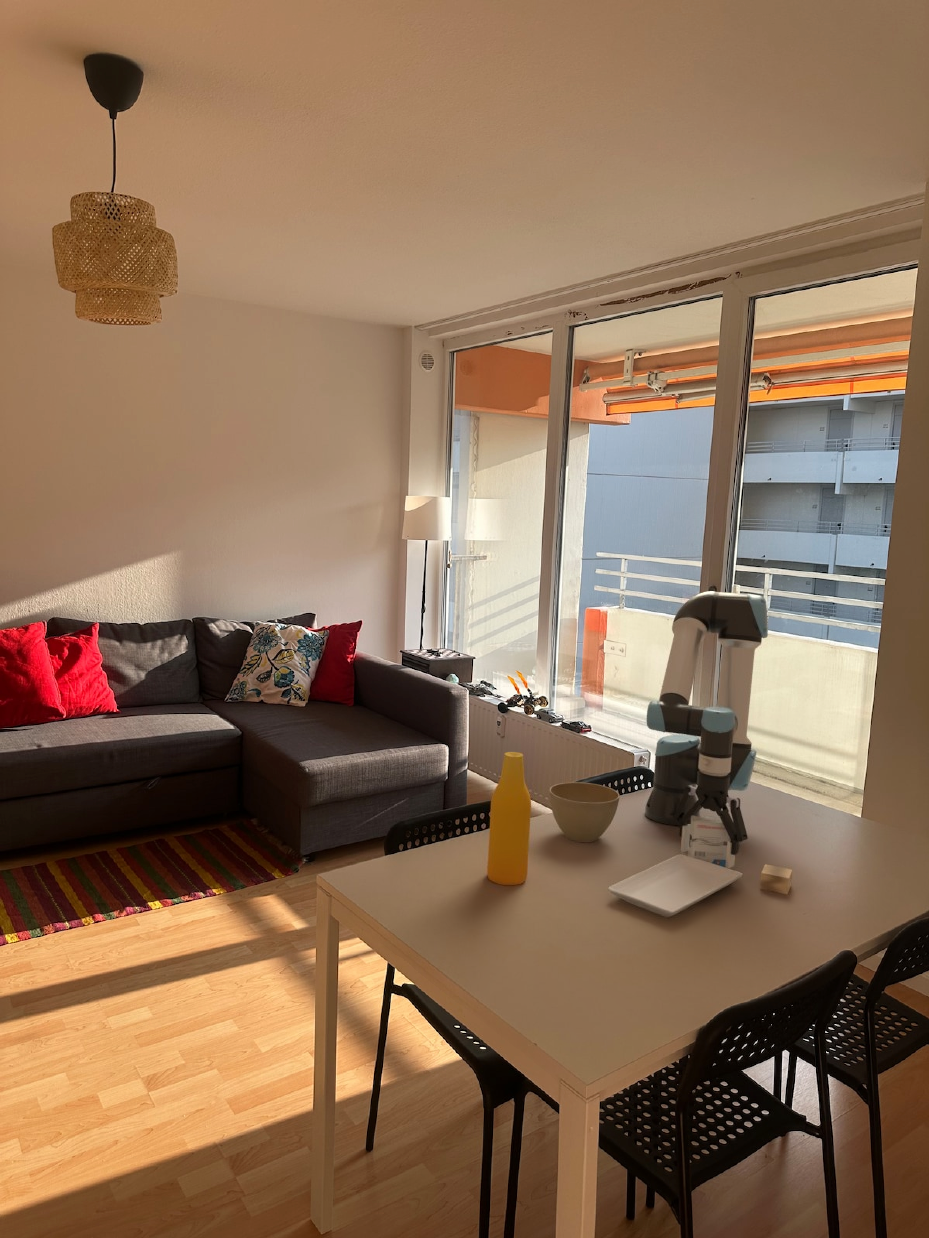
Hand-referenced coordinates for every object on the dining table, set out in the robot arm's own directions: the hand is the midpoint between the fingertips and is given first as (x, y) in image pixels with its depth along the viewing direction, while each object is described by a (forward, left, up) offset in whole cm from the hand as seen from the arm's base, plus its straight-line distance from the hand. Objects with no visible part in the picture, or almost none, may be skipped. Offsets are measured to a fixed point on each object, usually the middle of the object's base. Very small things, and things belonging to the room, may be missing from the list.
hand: (706, 858), depth 216 cm
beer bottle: (-24, -45, -2) cm, 51 cm away
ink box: (0, 0, -2) cm, 2 cm away
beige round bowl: (-31, -10, -2) cm, 33 cm away
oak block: (+17, +2, -2) cm, 17 cm away
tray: (+5, -20, -2) cm, 21 cm away
